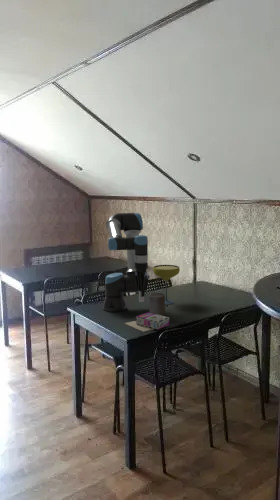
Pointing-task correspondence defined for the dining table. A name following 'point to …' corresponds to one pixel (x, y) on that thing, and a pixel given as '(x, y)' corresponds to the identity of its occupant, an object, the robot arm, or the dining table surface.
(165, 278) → the cocktail glass
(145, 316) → the candy bar box
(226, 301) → the dining table surface
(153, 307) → the pillar candle
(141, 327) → the mat
